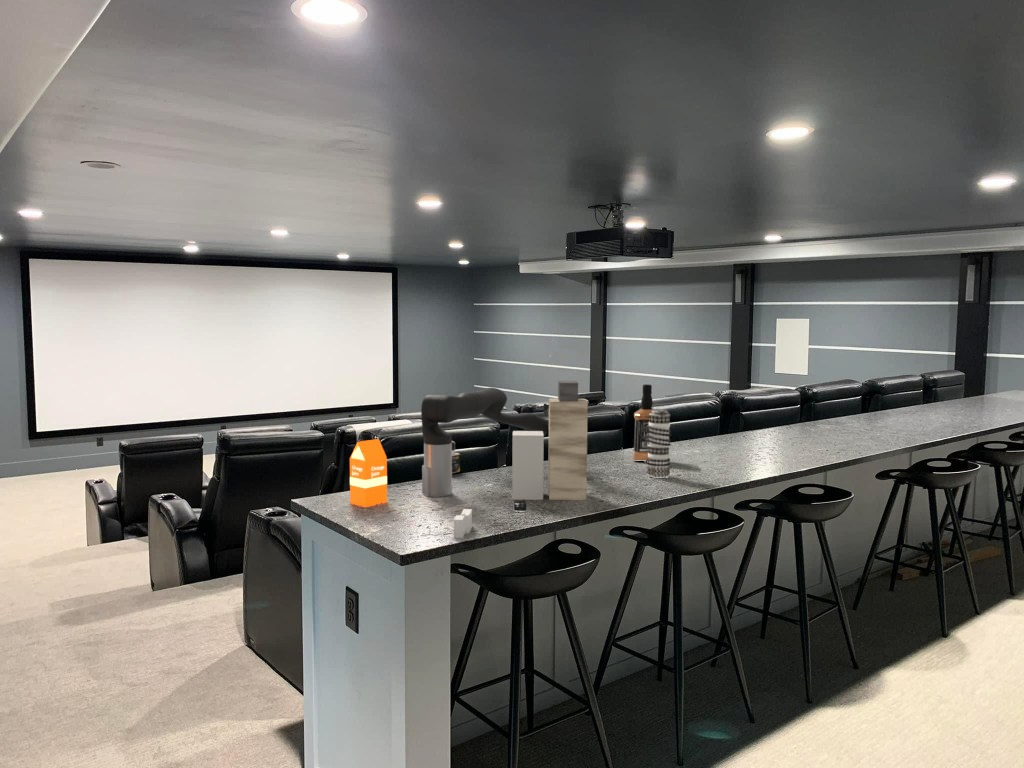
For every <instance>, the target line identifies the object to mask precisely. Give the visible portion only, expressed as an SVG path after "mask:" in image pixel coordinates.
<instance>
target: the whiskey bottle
mask: <svg viewBox="0 0 1024 768" xmlns="http://www.w3.org/2000/svg"><path fill="white" fill-rule="evenodd" d="M652 389H653V388H652V384H642V396H641V400H640V401H641V402H640V403H641V405H640V406H641V408H639V409H638V410H636V411H635V412H634V413H633V417H634V435H633V437H634V439H633V448H632V460H633V459H634V460H646V461H648V460H647V458H648V453H649V446H648V445H647V444H648V443H649V441H647V438H648V437H647V434H648V433H649V432H647V428H648V427H647V425H649V414H650V413H651V411H652V410H654V409H653V398H652V392H653V391H652Z"/></svg>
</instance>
